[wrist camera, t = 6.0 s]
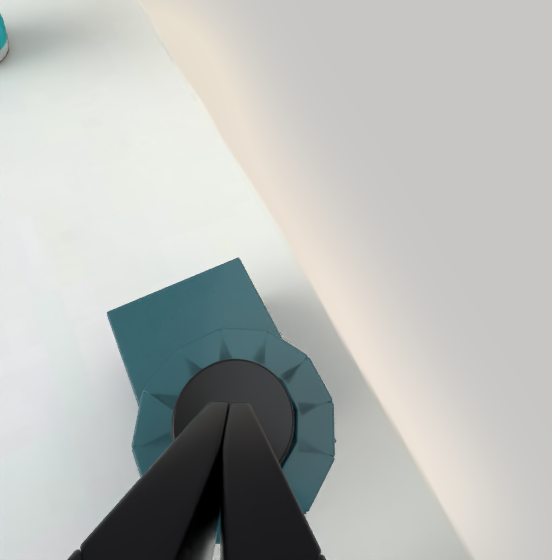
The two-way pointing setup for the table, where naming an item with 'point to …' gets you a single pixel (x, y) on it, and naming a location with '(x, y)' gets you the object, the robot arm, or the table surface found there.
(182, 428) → the black short cylinder
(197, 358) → the teal block with ring
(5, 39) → the beverage can
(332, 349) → the table surface
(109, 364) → the table surface
